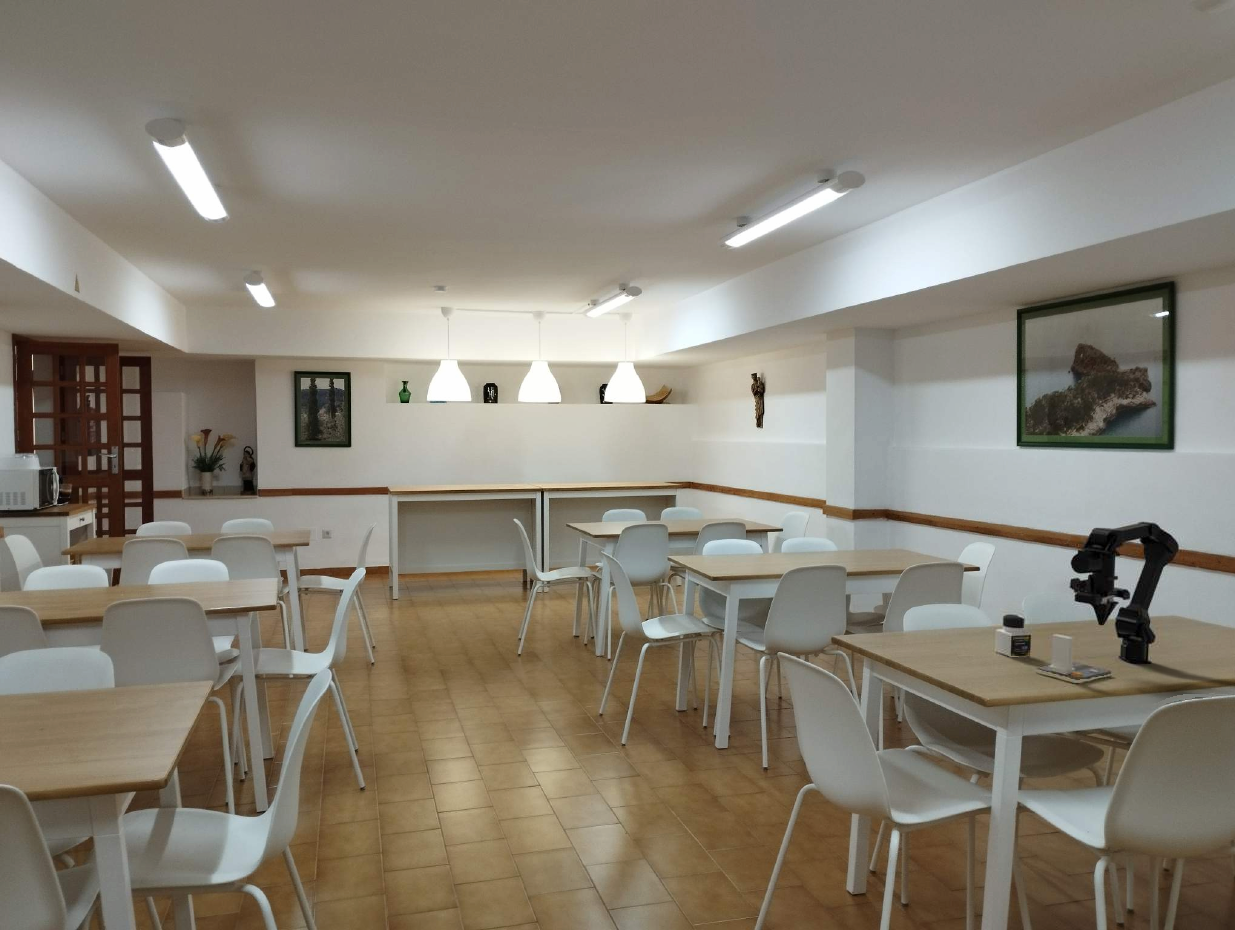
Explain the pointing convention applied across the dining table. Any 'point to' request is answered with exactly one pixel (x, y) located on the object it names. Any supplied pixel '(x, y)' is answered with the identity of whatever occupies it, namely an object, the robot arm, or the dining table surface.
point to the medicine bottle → (1013, 637)
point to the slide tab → (1062, 654)
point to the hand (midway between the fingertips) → (1101, 625)
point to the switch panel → (1080, 671)
